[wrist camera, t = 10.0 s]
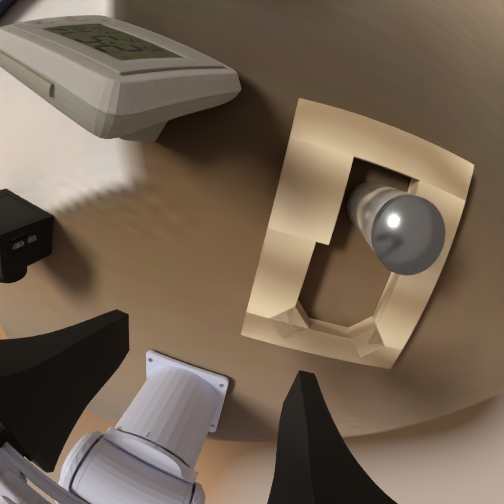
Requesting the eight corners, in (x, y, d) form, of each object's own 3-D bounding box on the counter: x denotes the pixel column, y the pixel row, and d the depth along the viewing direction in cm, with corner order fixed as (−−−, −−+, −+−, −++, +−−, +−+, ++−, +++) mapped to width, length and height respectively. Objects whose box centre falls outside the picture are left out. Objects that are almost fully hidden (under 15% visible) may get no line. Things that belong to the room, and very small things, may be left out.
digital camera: (5, 230, 24) (-37, 248, 18) (6, 188, 22) (-40, 200, 16) (52, 264, 24) (3, 291, 17) (54, 215, 22) (-2, 235, 15)
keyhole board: (386, 357, 20) (390, 369, 19) (244, 323, 21) (240, 334, 20) (463, 164, 14) (474, 165, 13) (299, 103, 16) (299, 98, 14)
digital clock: (259, 94, 16) (203, 20, 6) (166, 188, 19) (51, 222, 9) (128, -6, 14) (49, -53, 4) (65, 71, 17) (-27, 59, 7)
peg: (387, 235, 17) (432, 280, 10) (342, 225, 18) (365, 268, 10) (397, 187, 16) (453, 206, 9) (351, 176, 16) (384, 187, 9)
